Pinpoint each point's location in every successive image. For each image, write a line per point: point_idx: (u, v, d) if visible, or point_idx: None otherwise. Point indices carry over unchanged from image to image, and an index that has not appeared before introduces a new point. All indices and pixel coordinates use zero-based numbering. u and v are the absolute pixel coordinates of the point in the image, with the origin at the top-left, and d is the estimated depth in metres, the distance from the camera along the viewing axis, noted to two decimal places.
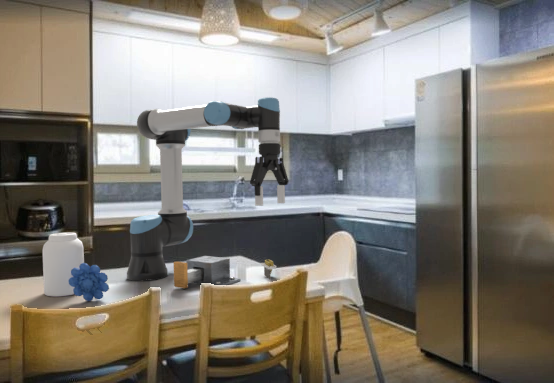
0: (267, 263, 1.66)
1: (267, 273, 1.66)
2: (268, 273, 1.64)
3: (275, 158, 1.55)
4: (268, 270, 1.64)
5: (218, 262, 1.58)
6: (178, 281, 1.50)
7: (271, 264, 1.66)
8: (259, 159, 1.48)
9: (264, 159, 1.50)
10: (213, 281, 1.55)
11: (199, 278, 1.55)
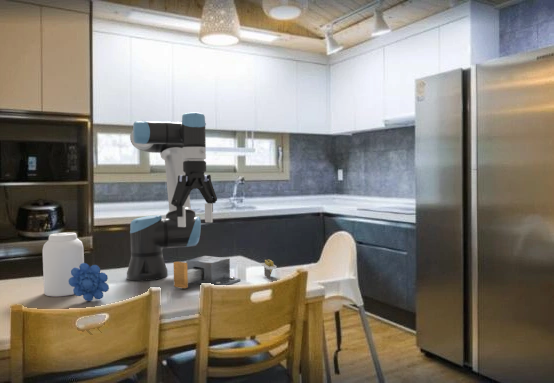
0: (267, 263, 1.65)
1: (267, 273, 1.65)
2: (268, 273, 1.64)
3: (201, 176, 1.48)
4: (268, 270, 1.64)
5: (218, 262, 1.58)
6: (178, 281, 1.50)
7: (271, 264, 1.66)
8: (181, 178, 1.41)
9: (188, 178, 1.43)
10: (213, 281, 1.55)
11: (199, 278, 1.55)
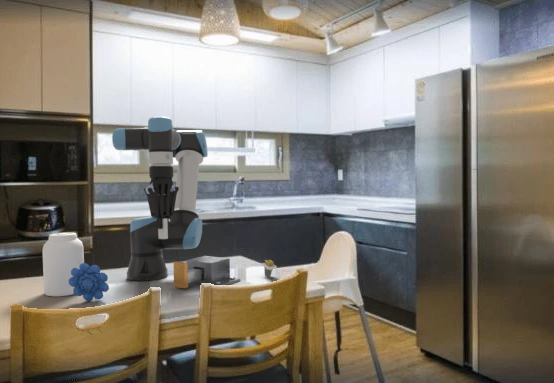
0: (267, 263, 1.65)
1: (267, 273, 1.65)
2: (268, 273, 1.64)
3: (168, 181, 1.44)
4: (268, 270, 1.64)
5: (218, 262, 1.58)
6: (178, 281, 1.50)
7: (271, 264, 1.66)
8: (148, 191, 1.38)
9: (153, 186, 1.40)
10: (213, 281, 1.55)
11: (199, 278, 1.55)
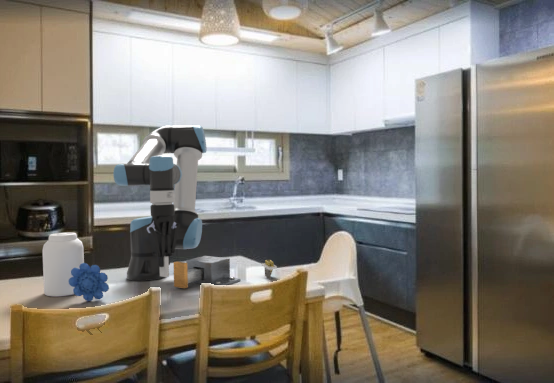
0: (267, 263, 1.65)
1: (267, 273, 1.65)
2: (268, 273, 1.64)
3: (169, 219, 1.45)
4: (268, 270, 1.63)
5: (218, 262, 1.58)
6: (178, 281, 1.50)
7: (271, 264, 1.66)
8: (149, 231, 1.39)
9: (155, 225, 1.40)
10: (213, 281, 1.55)
11: (199, 278, 1.55)
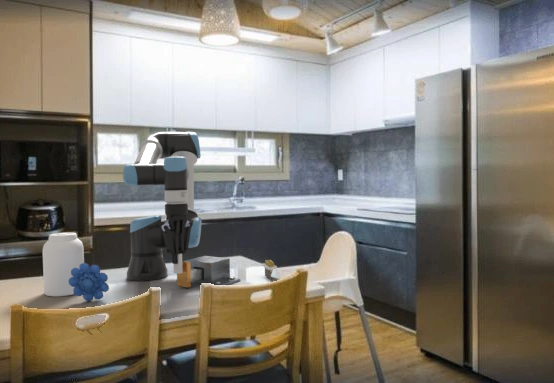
0: (268, 263, 1.65)
1: (268, 274, 1.65)
2: (268, 274, 1.63)
3: (183, 218, 1.50)
4: (268, 271, 1.63)
5: (218, 262, 1.58)
6: (181, 280, 1.51)
7: (272, 265, 1.65)
8: (164, 229, 1.44)
9: (169, 223, 1.45)
10: (213, 281, 1.55)
11: (202, 277, 1.57)
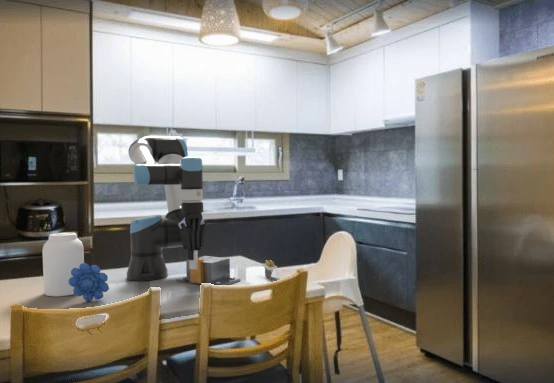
0: (268, 264, 1.64)
1: (268, 274, 1.64)
2: (269, 274, 1.63)
3: (198, 216, 1.56)
4: (269, 271, 1.63)
5: (218, 262, 1.58)
6: (194, 276, 1.57)
7: (272, 265, 1.65)
8: (181, 226, 1.50)
9: (185, 221, 1.52)
10: (213, 281, 1.55)
11: None
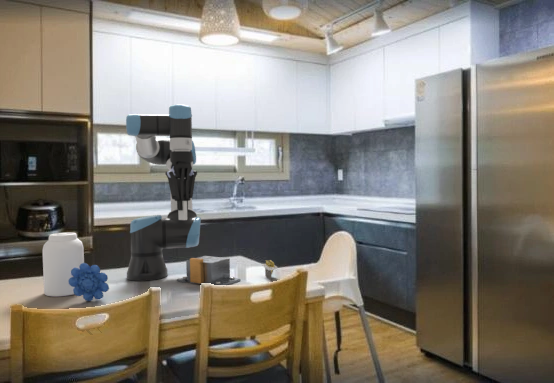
0: (268, 264, 1.64)
1: (268, 274, 1.64)
2: (269, 274, 1.63)
3: (188, 166, 1.53)
4: (269, 271, 1.63)
5: (218, 262, 1.58)
6: (194, 276, 1.57)
7: (272, 265, 1.65)
8: (169, 175, 1.47)
9: (174, 170, 1.48)
10: (213, 281, 1.55)
11: None
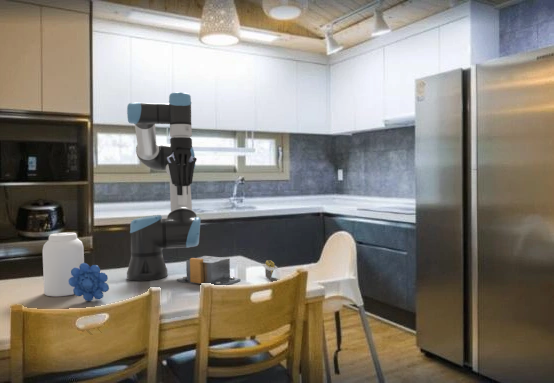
0: (268, 264, 1.64)
1: (268, 274, 1.64)
2: (269, 274, 1.62)
3: (187, 152, 1.57)
4: (269, 271, 1.62)
5: (218, 262, 1.58)
6: (194, 276, 1.57)
7: (272, 265, 1.64)
8: (170, 160, 1.51)
9: (174, 155, 1.53)
10: (213, 281, 1.55)
11: None
